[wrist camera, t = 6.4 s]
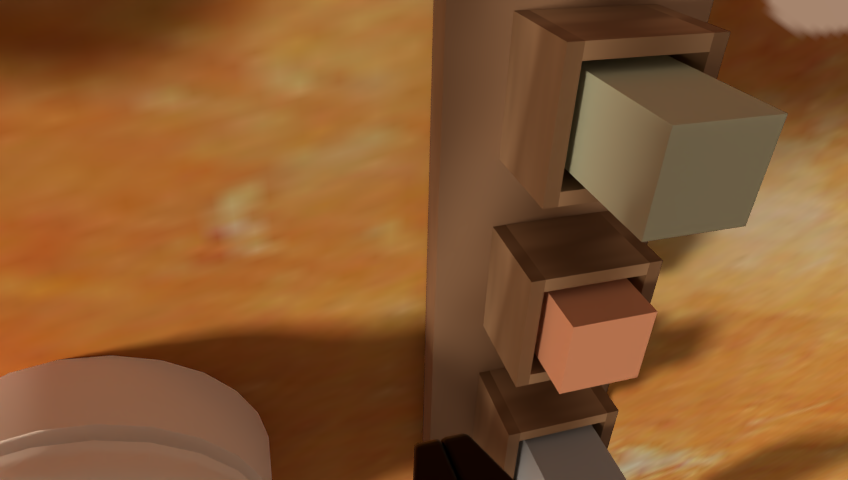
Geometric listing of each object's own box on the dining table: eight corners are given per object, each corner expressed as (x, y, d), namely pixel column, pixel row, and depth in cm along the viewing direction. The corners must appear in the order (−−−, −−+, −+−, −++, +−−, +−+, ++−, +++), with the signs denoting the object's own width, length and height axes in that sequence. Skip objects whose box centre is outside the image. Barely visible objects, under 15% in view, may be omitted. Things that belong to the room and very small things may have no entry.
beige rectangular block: (662, 52, 17) (788, 113, 13) (639, 147, 19) (745, 225, 15) (568, 59, 16) (673, 125, 13) (553, 157, 18) (641, 242, 14)
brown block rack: (711, -95, 19) (832, -80, 15) (580, 429, 32) (626, 504, 29) (435, -94, 16) (497, -76, 13) (422, 466, 30) (449, 552, 27)
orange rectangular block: (585, 233, 23) (657, 311, 19) (573, 293, 25) (637, 377, 21) (513, 243, 22) (573, 327, 18) (505, 305, 24) (559, 394, 20)
